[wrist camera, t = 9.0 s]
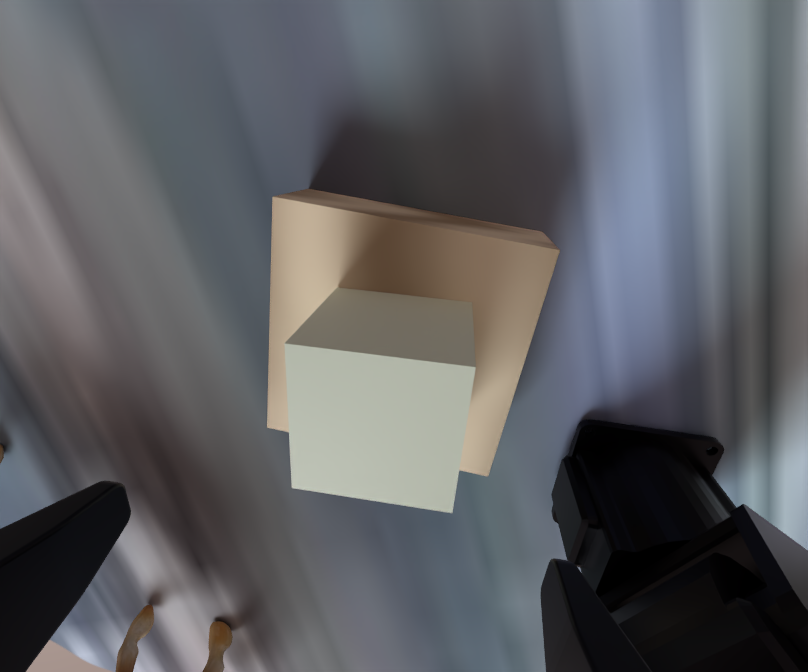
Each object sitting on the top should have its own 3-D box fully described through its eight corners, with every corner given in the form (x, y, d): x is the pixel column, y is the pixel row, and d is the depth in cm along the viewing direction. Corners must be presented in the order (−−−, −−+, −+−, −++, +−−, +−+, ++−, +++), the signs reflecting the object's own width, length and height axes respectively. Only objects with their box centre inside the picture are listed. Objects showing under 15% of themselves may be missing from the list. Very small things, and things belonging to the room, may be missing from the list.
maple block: (540, 230, 17) (559, 250, 14) (484, 422, 22) (487, 476, 18) (311, 187, 18) (272, 196, 14) (299, 382, 22) (267, 427, 19)
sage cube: (472, 302, 15) (475, 366, 10) (455, 417, 17) (452, 512, 13) (337, 287, 15) (284, 343, 11) (336, 401, 18) (291, 488, 13)
